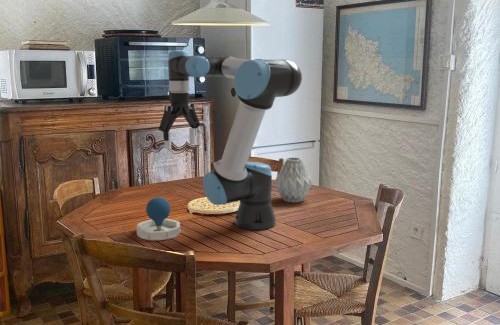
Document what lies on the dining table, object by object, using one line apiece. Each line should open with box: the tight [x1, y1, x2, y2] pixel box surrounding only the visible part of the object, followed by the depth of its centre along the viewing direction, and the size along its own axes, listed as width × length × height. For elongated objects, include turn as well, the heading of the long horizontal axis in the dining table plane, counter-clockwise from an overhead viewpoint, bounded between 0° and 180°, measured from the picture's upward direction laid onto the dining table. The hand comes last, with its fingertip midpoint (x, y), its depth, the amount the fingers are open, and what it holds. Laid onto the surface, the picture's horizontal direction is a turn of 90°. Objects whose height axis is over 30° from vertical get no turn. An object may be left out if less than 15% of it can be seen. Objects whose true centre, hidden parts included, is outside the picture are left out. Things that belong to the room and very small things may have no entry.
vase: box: [274, 157, 313, 203], centre depth 220 cm, size 16×16×18 cm
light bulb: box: [145, 196, 171, 231], centre depth 178 cm, size 8×8×12 cm
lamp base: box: [136, 218, 181, 241], centre depth 179 cm, size 15×15×3 cm
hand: (180, 146), depth 199 cm, fingers open, 13 cm apart
